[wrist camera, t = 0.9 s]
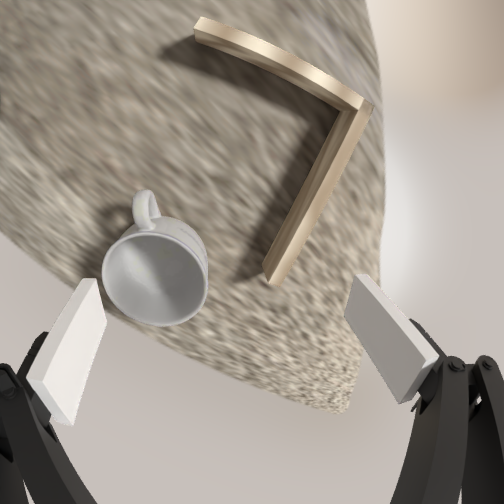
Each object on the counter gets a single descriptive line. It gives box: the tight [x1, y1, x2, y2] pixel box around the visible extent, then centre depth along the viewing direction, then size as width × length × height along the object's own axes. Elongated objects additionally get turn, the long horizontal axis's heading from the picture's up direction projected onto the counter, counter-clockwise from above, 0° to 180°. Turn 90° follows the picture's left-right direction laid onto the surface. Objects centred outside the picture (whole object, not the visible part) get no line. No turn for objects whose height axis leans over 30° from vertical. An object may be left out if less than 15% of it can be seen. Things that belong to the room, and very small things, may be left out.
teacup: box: [102, 189, 208, 327], centre depth 29 cm, size 14×11×8 cm
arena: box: [194, 17, 375, 287], centre depth 27 cm, size 20×22×4 cm
